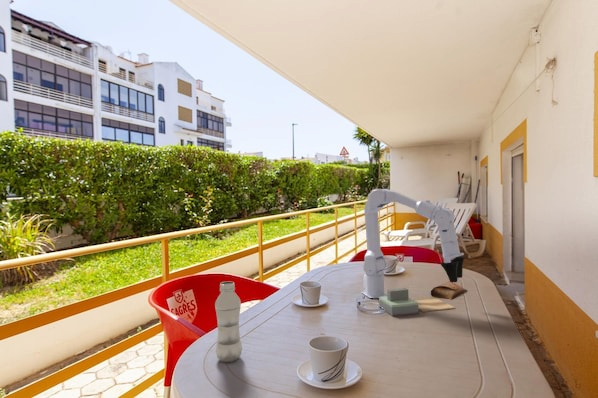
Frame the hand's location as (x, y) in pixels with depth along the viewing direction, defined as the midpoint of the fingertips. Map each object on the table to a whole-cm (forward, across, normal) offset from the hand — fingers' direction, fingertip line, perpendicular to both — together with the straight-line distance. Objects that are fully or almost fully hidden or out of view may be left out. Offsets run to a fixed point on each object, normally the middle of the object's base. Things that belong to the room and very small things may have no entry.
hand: (456, 279), depth 126 cm
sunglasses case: (+10, +19, +9) cm, 24 cm away
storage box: (+8, -12, +19) cm, 23 cm away
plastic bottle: (+4, -72, +41) cm, 83 cm away
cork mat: (+9, 0, +12) cm, 14 cm away
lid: (+5, -12, +18) cm, 22 cm away
